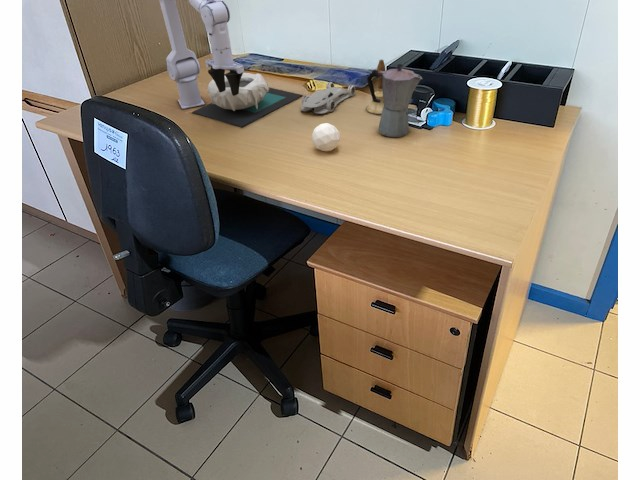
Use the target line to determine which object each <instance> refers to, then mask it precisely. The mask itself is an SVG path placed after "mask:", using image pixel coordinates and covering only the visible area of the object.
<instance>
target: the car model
mask: <svg viewBox="0 0 640 480" xmlns="http://www.w3.org/2000/svg"><path fill="white" fill-rule="evenodd" d="M355 94H356V86H355V85H352V84H350V85H348V87H347V90H345V88H344V87H341V86H335V83H334V82H332V81H328V82H327V83H326V86H325V88H323V89H318V90H315V91H314V92H313V93H312V94H310V95H303V96H302V97H301V98H302V99H301V107H300V111H302V112H305V113H308V112H313V114H314V115H315V114H316V115H324V114H328V113H331V112H334V110H335V109H336V107H337V106H338V105H339V104H340V103H341V102H343V101H344V100H346V99H349V98H350V97H353V96H354V95H355Z"/></svg>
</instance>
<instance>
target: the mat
mask: <svg viewBox="0 0 640 480" xmlns="http://www.w3.org/2000/svg"><path fill="white" fill-rule="evenodd" d="M303 97H304V95H303V94H301V93H295V92H291V91H287V90H282V89H278V88H277V89H276V88H273V87H269V92H268V94H267V92H266V94H265V96H264V98H263V100H262V101H260V102H259V103H257V105H258V109H257V108H256V106H255V105H253V106H251V107H248V108H245V109H239V110H235V111H233V110H230V109H224V108H222V107H220V106H218V105H216V104H212V102H210V103H209V104H207V105H203V106H202V107H200V108H198V109H196V110H194V111H192V112H191V113H192V114H195V115H198V116H201V117H205V118H208V119H211V120H215V121H217V122H222V123H225V124H229V125H232V126H235V127H240V128H244V127H247V126H248V125H250V124H252V123H254V122H256V121H258V120H259V119H261V118H264V117H265V116H267V115H270V114H272V113H273V112H275V111H278V110H279V109H281V108H282V107H285V106H286V105H288V104H290V103H292V102H294V101H296V100H298V99H300V98H303Z"/></svg>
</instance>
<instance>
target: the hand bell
mask: <svg viewBox="0 0 640 480" xmlns="http://www.w3.org/2000/svg"><path fill="white" fill-rule="evenodd" d="M384 61H385V60H384V59H379V60H378V64H377V67H376V68H377V69H376V70H377V71H386V64H385V62H384ZM374 92H375V93H374V94H375V96H376V99H380V100H381V102H380V103H377V102H373V99H372V98H371V102H370V104H369V105H368V106H367V108H366V110H367V112H368V113H370V114H374V115H382V111H383V107H384V103H383V101H384V99H383V88H382V78H377V91H374Z"/></svg>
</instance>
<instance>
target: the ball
mask: <svg viewBox="0 0 640 480" xmlns="http://www.w3.org/2000/svg"><path fill="white" fill-rule="evenodd" d="M311 139H312V143H313V145H314V147H315V148H316V149H317V150H320V151H322V152H331V151H333V150H334V149H335V148H337V147H338V145H339V142H340V141H341V135H340V131H339V130H338V129H337V127H336V126H335V125H333V124H331V123H329V122H325V123H320V124H318V125H317V126H316V127H314V129H313V132H312V134H311Z"/></svg>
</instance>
